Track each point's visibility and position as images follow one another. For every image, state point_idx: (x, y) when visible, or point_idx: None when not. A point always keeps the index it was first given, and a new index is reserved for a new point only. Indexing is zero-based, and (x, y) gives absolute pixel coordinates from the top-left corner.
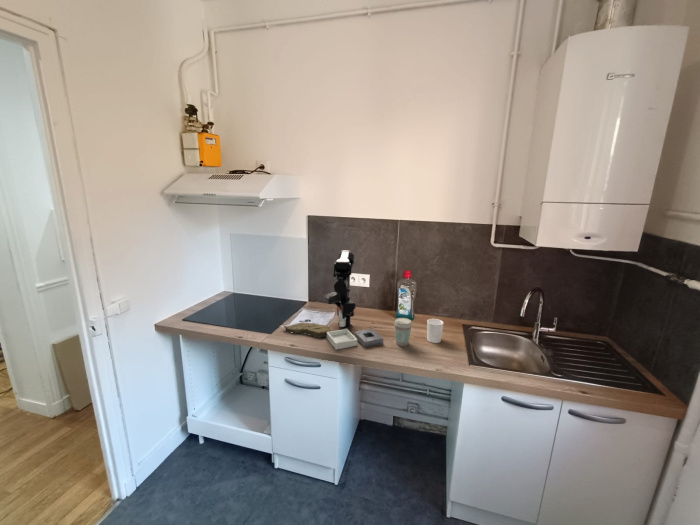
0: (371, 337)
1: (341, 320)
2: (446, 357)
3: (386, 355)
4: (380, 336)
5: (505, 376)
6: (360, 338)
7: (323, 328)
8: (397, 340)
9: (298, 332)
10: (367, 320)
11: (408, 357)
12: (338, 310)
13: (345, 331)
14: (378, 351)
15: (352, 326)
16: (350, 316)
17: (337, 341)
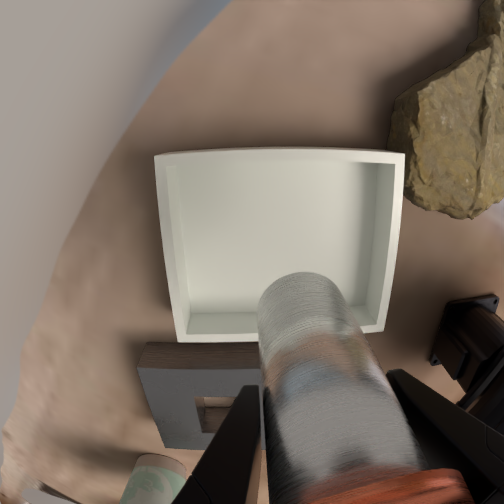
0: (188, 415)
1: (269, 346)
2: (67, 480)
3: (64, 384)
4: (189, 447)
5: (14, 481)
6: (208, 364)
7: (468, 159)
8: (146, 469)
9: (485, 12)
10: None
11: (56, 428)
12: (448, 424)
13: (372, 309)
14: (99, 377)
15: (429, 362)
16: (463, 396)
17: (276, 202)
